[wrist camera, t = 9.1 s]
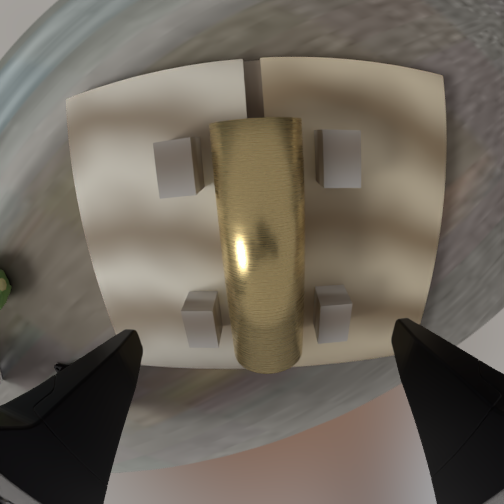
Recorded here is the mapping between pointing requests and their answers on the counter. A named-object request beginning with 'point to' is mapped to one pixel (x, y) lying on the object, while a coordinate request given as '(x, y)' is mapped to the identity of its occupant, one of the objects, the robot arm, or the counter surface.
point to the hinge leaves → (316, 200)
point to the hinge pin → (262, 236)
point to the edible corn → (4, 288)
